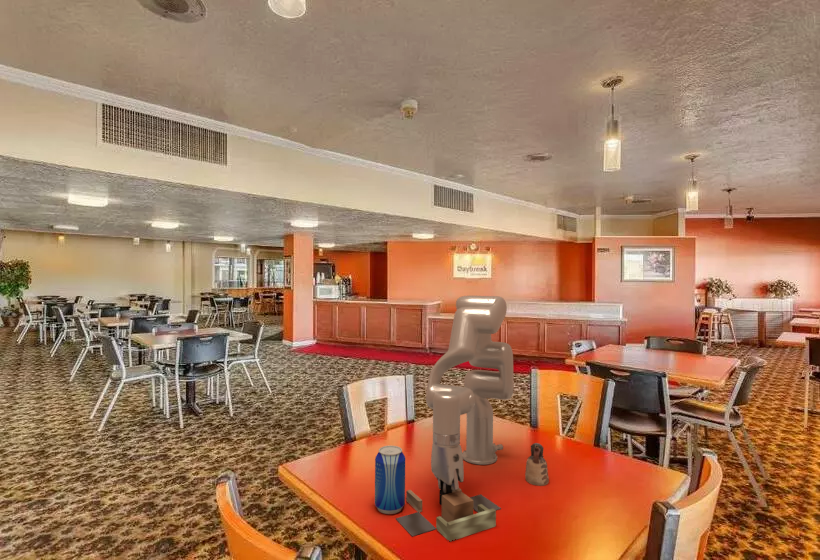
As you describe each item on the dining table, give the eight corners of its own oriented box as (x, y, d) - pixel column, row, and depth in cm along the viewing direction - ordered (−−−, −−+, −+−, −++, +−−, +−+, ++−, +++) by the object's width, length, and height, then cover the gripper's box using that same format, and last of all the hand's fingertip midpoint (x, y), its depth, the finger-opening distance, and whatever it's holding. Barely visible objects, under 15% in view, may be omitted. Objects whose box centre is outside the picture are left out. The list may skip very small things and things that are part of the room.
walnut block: (460, 512, 115) (460, 490, 115) (473, 523, 110) (473, 500, 110) (441, 518, 112) (441, 495, 112) (454, 529, 107) (454, 505, 107)
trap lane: (466, 485, 131) (466, 472, 132) (516, 519, 112) (516, 504, 112) (384, 506, 118) (384, 492, 118) (424, 550, 98) (424, 532, 99)
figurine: (550, 479, 136) (550, 441, 137) (546, 488, 130) (546, 448, 130) (528, 474, 140) (528, 437, 140) (523, 482, 133) (523, 444, 134)
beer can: (374, 500, 121) (375, 444, 122) (403, 499, 122) (404, 444, 122) (374, 516, 113) (375, 456, 113) (405, 515, 114) (406, 455, 114)
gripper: (473, 444, 112) (473, 514, 111) (443, 427, 125) (442, 490, 124) (450, 449, 108) (449, 521, 108) (421, 431, 121) (420, 495, 121)
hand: (445, 504), depth 116 cm, fingers closed
